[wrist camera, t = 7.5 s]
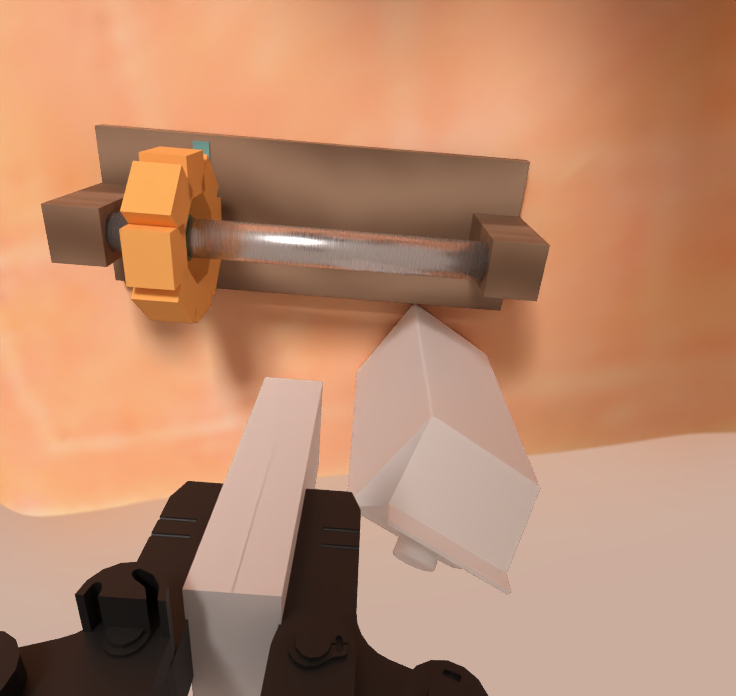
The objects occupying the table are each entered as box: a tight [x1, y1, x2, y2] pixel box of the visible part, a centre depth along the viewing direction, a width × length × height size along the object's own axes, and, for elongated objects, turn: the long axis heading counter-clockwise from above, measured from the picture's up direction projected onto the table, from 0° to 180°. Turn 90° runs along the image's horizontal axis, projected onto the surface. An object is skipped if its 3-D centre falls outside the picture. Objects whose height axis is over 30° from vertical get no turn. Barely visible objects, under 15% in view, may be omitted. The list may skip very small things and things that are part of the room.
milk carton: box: [347, 304, 540, 594], centre depth 32 cm, size 7×7×19 cm
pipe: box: [105, 212, 489, 281], centre depth 31 cm, size 3×24×3 cm, turn 86°
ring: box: [119, 146, 222, 323], centre depth 30 cm, size 9×2×9 cm, turn 176°
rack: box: [41, 125, 550, 310], centre depth 33 cm, size 10×27×8 cm, turn 86°
